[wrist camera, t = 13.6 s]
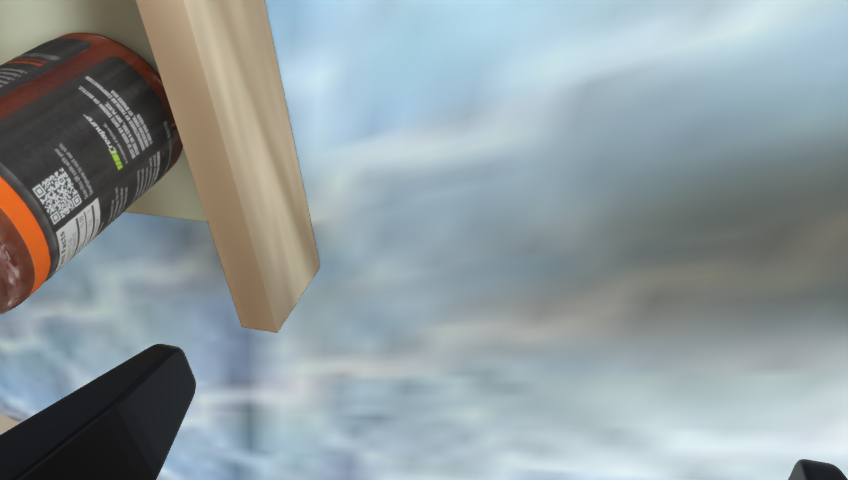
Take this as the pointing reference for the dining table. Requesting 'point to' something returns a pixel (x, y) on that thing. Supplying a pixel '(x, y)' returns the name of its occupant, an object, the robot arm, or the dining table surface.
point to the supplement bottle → (74, 151)
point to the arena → (209, 132)
